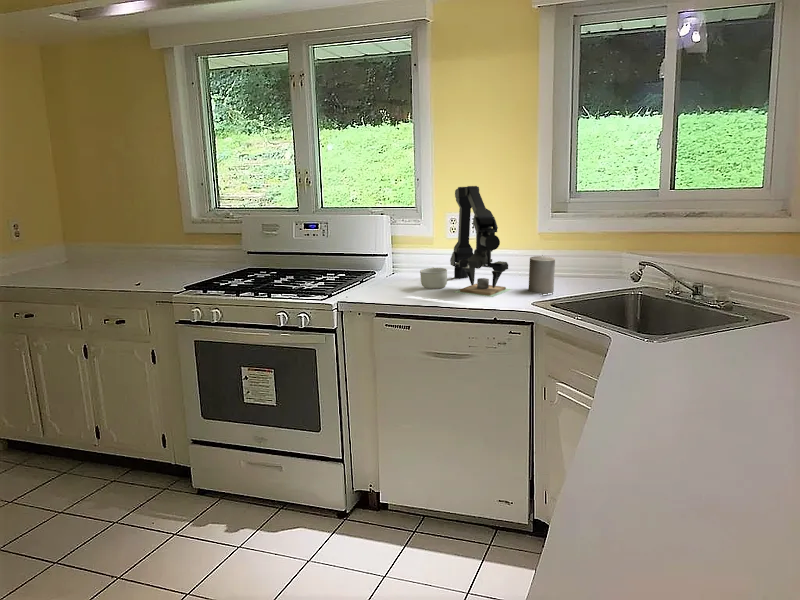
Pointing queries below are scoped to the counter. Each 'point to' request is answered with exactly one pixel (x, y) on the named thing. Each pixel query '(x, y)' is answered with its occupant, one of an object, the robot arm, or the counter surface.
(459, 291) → the sage mat
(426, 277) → the teacup
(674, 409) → the counter surface
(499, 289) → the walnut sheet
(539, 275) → the pillar candle
